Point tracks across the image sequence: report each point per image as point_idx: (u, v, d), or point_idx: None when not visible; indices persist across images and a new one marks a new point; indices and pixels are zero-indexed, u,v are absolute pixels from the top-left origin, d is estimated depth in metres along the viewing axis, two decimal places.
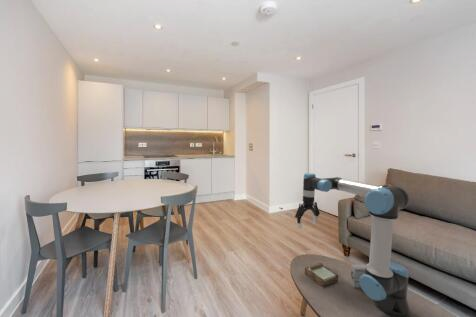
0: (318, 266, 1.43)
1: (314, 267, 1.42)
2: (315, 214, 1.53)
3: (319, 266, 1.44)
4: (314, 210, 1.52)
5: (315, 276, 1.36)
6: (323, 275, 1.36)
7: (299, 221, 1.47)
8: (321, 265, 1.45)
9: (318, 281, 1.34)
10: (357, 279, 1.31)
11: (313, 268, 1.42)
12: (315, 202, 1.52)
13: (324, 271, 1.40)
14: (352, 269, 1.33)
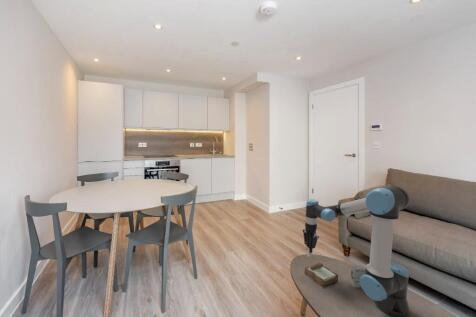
0: (318, 266, 1.43)
1: (314, 267, 1.42)
2: None
3: (319, 266, 1.44)
4: (310, 240, 1.47)
5: (315, 276, 1.36)
6: (323, 275, 1.36)
7: (307, 249, 1.50)
8: (321, 265, 1.45)
9: (318, 281, 1.34)
10: (357, 279, 1.31)
11: (313, 268, 1.42)
12: (316, 236, 1.43)
13: (324, 271, 1.40)
14: (352, 269, 1.33)
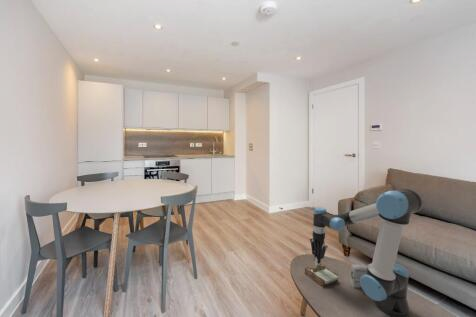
0: (320, 268, 1.42)
1: (316, 269, 1.40)
2: None
3: (321, 268, 1.42)
4: (318, 250, 1.40)
5: (315, 276, 1.36)
6: (325, 277, 1.34)
7: (315, 259, 1.44)
8: (323, 267, 1.43)
9: (318, 281, 1.34)
10: (357, 279, 1.31)
11: (315, 270, 1.40)
12: (324, 246, 1.36)
13: (327, 272, 1.39)
14: (352, 269, 1.33)
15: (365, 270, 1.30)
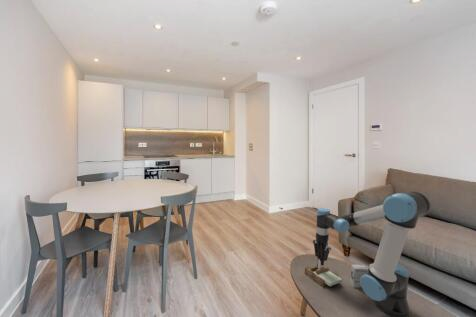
0: (324, 270, 1.39)
1: (320, 271, 1.38)
2: (321, 257, 1.39)
3: (325, 270, 1.40)
4: (321, 252, 1.38)
5: (315, 276, 1.36)
6: (329, 279, 1.32)
7: (318, 261, 1.41)
8: (327, 269, 1.41)
9: (318, 281, 1.34)
10: (357, 279, 1.31)
11: (319, 272, 1.37)
12: (328, 248, 1.34)
13: (330, 275, 1.36)
14: (352, 269, 1.33)
15: (365, 270, 1.30)
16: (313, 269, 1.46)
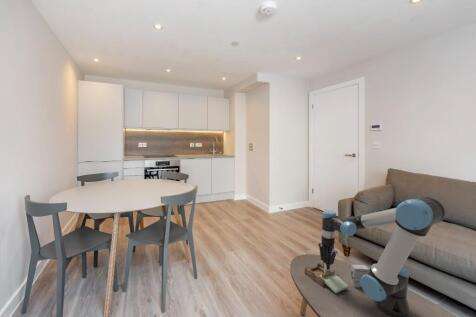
0: (330, 274, 1.35)
1: (326, 275, 1.33)
2: (326, 260, 1.35)
3: (331, 273, 1.35)
4: (327, 256, 1.34)
5: (315, 276, 1.36)
6: (335, 285, 1.28)
7: (324, 265, 1.37)
8: (333, 272, 1.36)
9: (318, 281, 1.34)
10: (357, 279, 1.31)
11: (325, 276, 1.33)
12: (334, 251, 1.30)
13: (336, 280, 1.32)
14: (352, 269, 1.33)
15: (365, 270, 1.30)
16: (313, 269, 1.46)
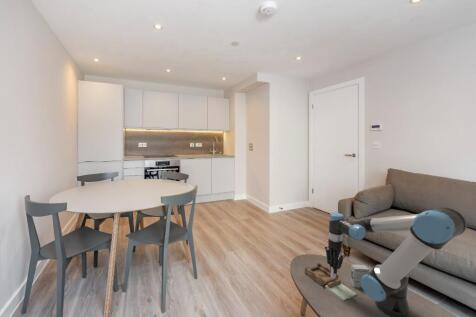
0: (336, 283, 1.31)
1: (332, 284, 1.30)
2: (334, 265, 1.31)
3: (337, 283, 1.32)
4: (334, 260, 1.29)
5: (315, 276, 1.36)
6: (342, 294, 1.24)
7: (330, 269, 1.33)
8: (339, 282, 1.32)
9: (318, 281, 1.34)
10: (357, 279, 1.31)
11: (331, 285, 1.29)
12: (342, 255, 1.25)
13: (343, 289, 1.28)
14: (352, 269, 1.33)
15: (365, 270, 1.30)
16: (313, 269, 1.46)
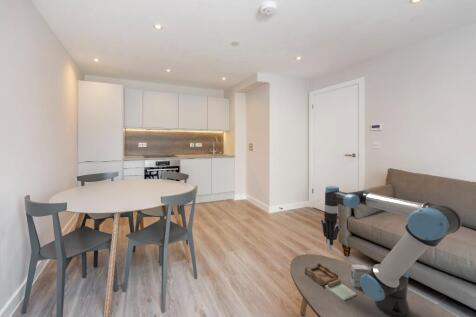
0: (336, 283, 1.31)
1: (332, 284, 1.30)
2: (330, 236, 1.34)
3: (337, 283, 1.32)
4: (330, 231, 1.32)
5: (315, 276, 1.36)
6: (342, 294, 1.24)
7: (327, 241, 1.35)
8: (339, 282, 1.32)
9: (318, 281, 1.34)
10: (357, 279, 1.31)
11: (331, 285, 1.29)
12: (337, 226, 1.28)
13: (343, 289, 1.28)
14: (352, 269, 1.33)
15: (365, 270, 1.30)
16: (313, 269, 1.46)
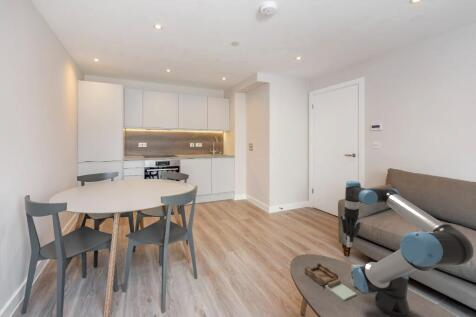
0: (336, 283, 1.31)
1: (332, 284, 1.30)
2: (350, 233, 1.29)
3: (337, 283, 1.32)
4: (351, 228, 1.28)
5: (315, 276, 1.36)
6: (342, 294, 1.24)
7: (346, 238, 1.31)
8: (339, 282, 1.32)
9: (318, 281, 1.34)
10: None
11: (331, 285, 1.29)
12: (359, 222, 1.24)
13: (343, 289, 1.28)
14: (352, 269, 1.33)
15: None
16: (313, 269, 1.46)
